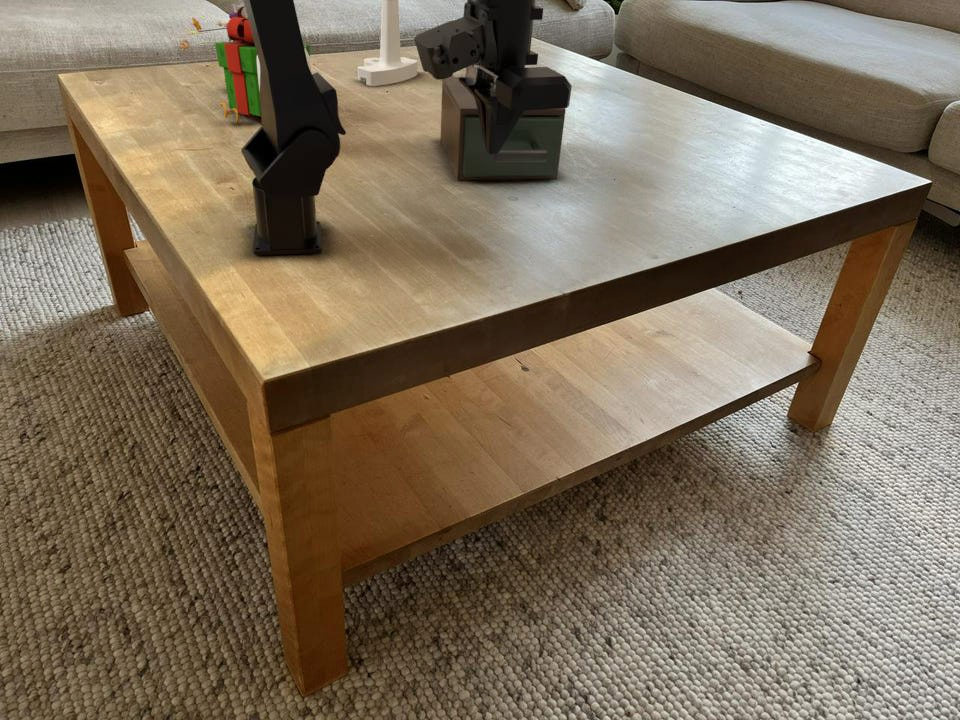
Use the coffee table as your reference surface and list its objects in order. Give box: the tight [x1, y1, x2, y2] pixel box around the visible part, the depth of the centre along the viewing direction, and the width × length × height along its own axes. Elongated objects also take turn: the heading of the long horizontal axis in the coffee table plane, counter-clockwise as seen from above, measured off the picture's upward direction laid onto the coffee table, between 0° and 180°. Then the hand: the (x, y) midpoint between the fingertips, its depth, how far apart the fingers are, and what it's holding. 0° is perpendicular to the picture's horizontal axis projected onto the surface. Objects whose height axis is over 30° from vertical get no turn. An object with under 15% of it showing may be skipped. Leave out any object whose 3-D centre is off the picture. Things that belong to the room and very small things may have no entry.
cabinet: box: [440, 76, 567, 181], centre depth 96 cm, size 14×13×9 cm
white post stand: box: [357, 0, 418, 87], centre depth 122 cm, size 11×8×20 cm
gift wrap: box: [179, 5, 311, 124], centre depth 103 cm, size 20×19×14 cm
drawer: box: [463, 115, 563, 177], centre depth 93 cm, size 17×11×7 cm
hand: (492, 153), depth 81 cm, fingers closed
